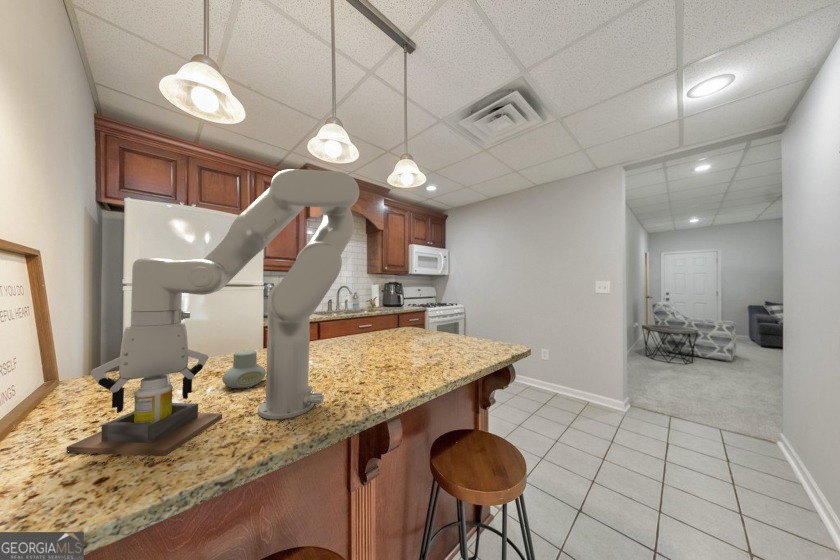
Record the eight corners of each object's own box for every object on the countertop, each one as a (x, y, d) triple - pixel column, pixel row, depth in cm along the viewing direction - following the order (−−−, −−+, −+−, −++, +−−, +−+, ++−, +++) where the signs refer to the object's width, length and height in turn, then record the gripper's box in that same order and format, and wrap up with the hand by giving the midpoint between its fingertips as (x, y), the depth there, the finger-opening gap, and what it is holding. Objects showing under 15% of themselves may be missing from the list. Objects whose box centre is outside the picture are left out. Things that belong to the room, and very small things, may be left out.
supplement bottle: (169, 419, 61) (170, 371, 61) (173, 428, 57) (174, 377, 57) (132, 428, 57) (134, 377, 57) (134, 439, 53) (136, 384, 53)
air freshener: (258, 377, 91) (259, 346, 91) (269, 384, 86) (270, 351, 86) (218, 387, 82) (219, 352, 83) (227, 394, 77) (228, 358, 77)
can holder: (222, 418, 64) (222, 400, 64) (164, 455, 50) (165, 433, 50) (144, 415, 64) (145, 398, 64) (66, 452, 50) (67, 430, 50)
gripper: (207, 314, 66) (205, 387, 66) (95, 320, 54) (92, 409, 54) (212, 317, 61) (209, 397, 60) (88, 325, 49) (85, 424, 48)
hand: (154, 403), depth 57 cm, fingers open, 9 cm apart
